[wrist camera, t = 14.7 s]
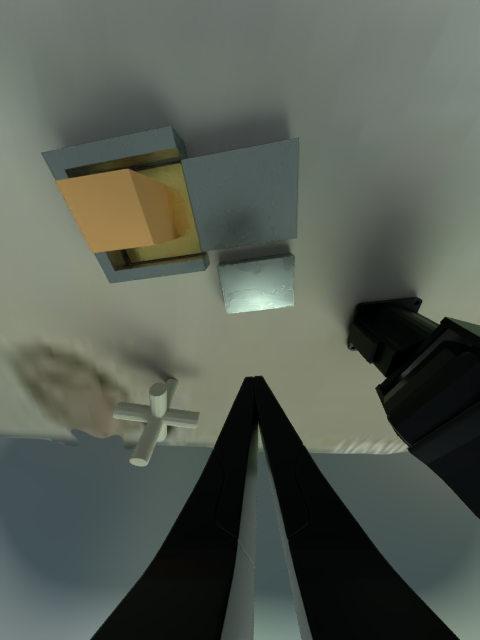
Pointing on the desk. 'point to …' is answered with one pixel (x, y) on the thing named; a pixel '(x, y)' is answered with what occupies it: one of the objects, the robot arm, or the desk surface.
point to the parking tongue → (258, 283)
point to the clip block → (119, 210)
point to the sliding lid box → (195, 196)
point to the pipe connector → (155, 418)
